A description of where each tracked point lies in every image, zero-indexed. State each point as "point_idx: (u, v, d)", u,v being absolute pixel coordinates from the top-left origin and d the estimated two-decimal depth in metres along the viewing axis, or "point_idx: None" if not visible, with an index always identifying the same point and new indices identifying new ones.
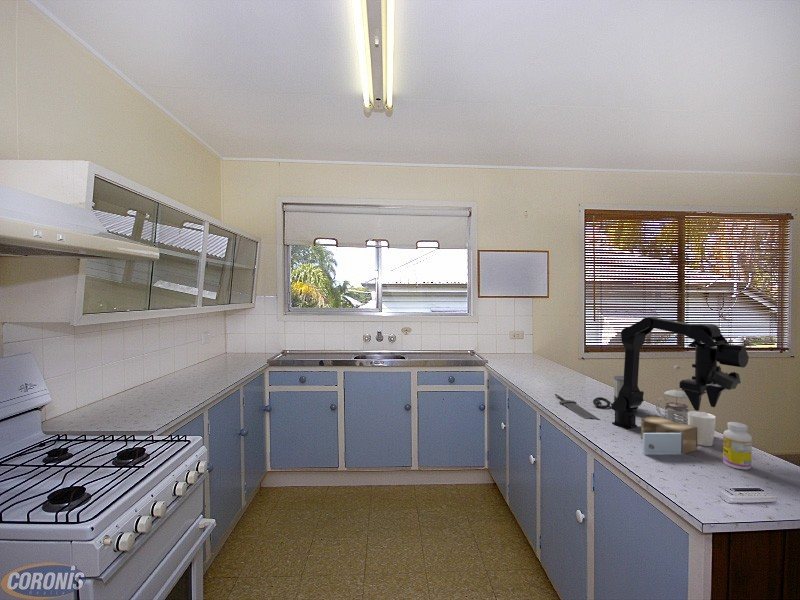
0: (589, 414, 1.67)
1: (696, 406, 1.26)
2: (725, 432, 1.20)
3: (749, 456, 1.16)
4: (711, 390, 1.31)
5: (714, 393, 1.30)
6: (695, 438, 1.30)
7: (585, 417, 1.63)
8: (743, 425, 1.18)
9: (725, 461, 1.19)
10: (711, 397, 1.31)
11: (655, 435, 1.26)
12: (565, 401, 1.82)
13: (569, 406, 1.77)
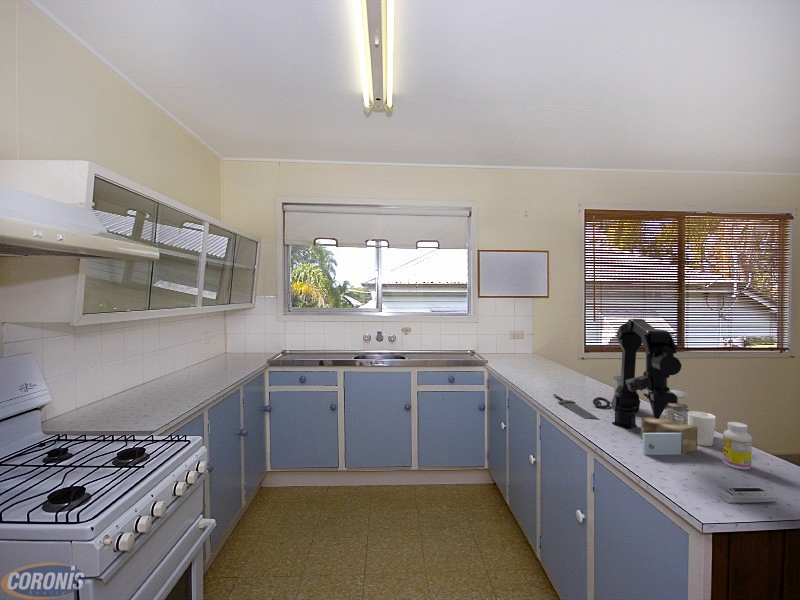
0: (589, 414, 1.67)
1: None
2: (725, 432, 1.20)
3: (749, 456, 1.16)
4: None
5: None
6: (695, 438, 1.30)
7: (585, 417, 1.63)
8: (743, 425, 1.18)
9: (725, 461, 1.19)
10: None
11: (655, 435, 1.26)
12: (564, 401, 1.83)
13: (568, 406, 1.77)
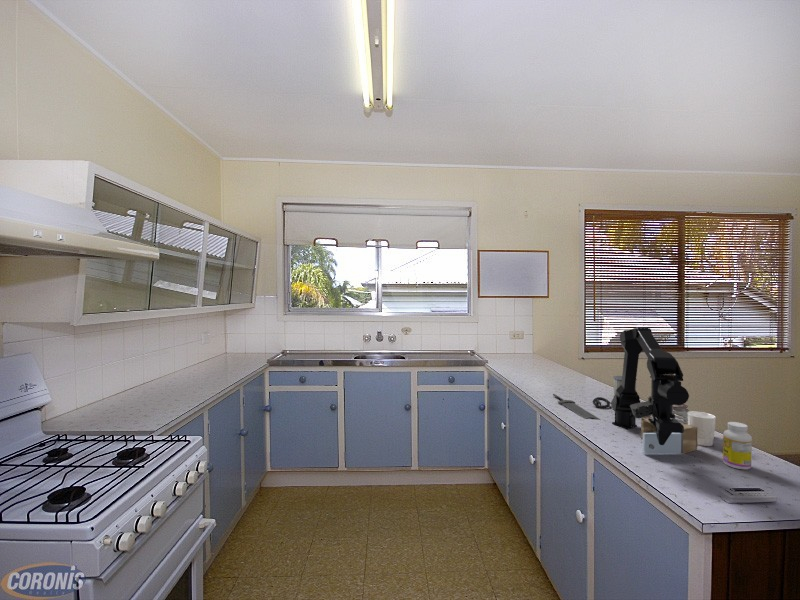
0: (589, 414, 1.67)
1: None
2: (725, 432, 1.20)
3: (749, 456, 1.16)
4: None
5: None
6: (695, 438, 1.30)
7: (585, 417, 1.63)
8: (743, 425, 1.18)
9: (725, 461, 1.19)
10: None
11: (655, 435, 1.26)
12: (564, 401, 1.83)
13: (568, 406, 1.77)
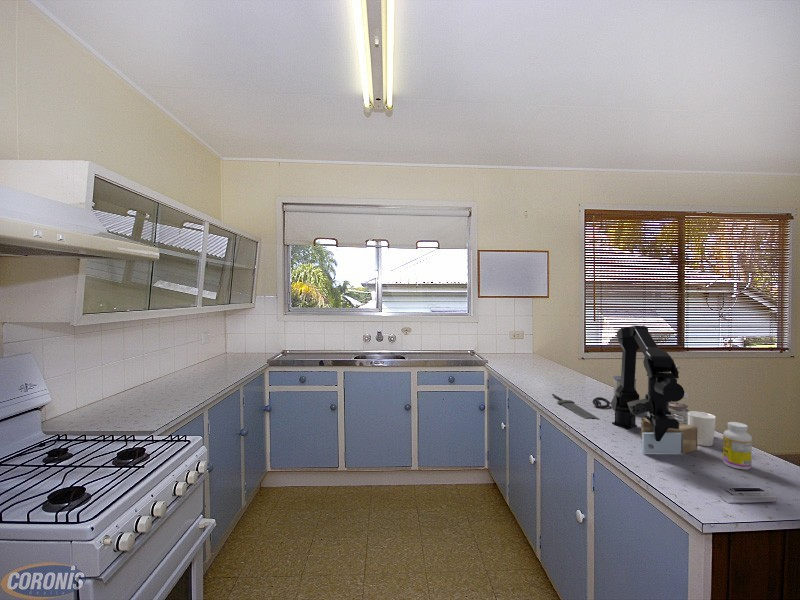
0: (589, 413, 1.67)
1: None
2: (725, 432, 1.20)
3: (749, 456, 1.16)
4: None
5: None
6: (695, 438, 1.30)
7: (585, 417, 1.63)
8: (743, 425, 1.18)
9: (725, 461, 1.19)
10: None
11: None
12: (563, 401, 1.83)
13: (568, 406, 1.77)
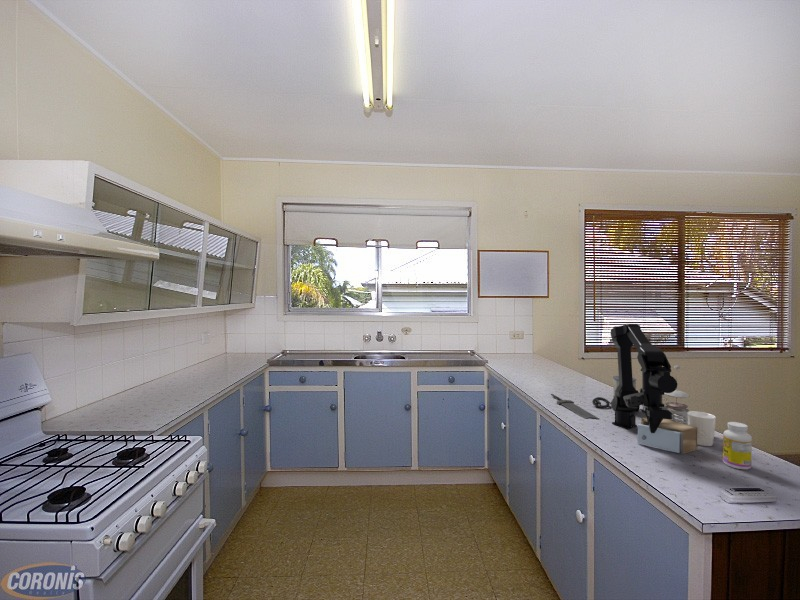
0: (589, 413, 1.67)
1: None
2: (725, 432, 1.20)
3: (749, 456, 1.16)
4: None
5: None
6: (695, 438, 1.30)
7: (585, 417, 1.64)
8: (743, 425, 1.18)
9: (725, 461, 1.19)
10: None
11: None
12: (563, 401, 1.83)
13: (567, 406, 1.77)
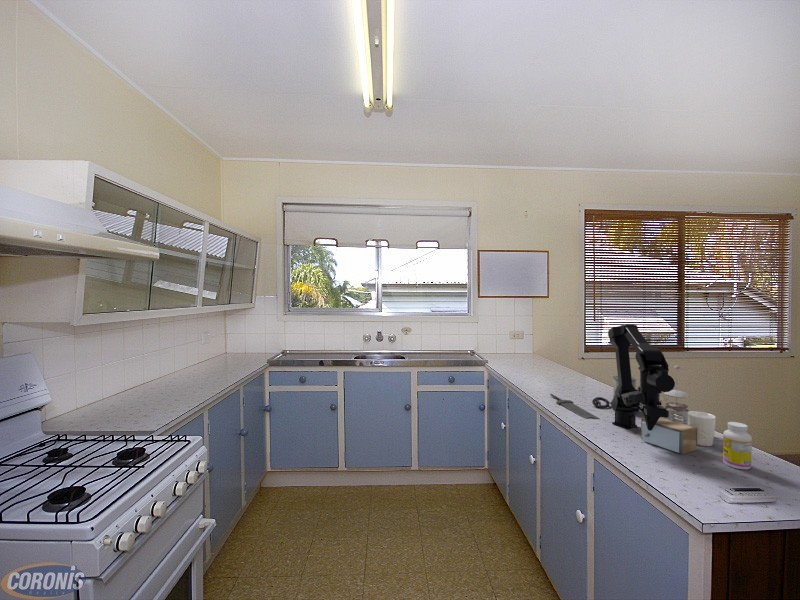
0: (588, 413, 1.67)
1: None
2: (725, 432, 1.20)
3: (749, 456, 1.16)
4: None
5: None
6: (695, 438, 1.30)
7: (585, 417, 1.64)
8: (743, 425, 1.18)
9: (725, 461, 1.19)
10: None
11: None
12: (562, 401, 1.83)
13: (567, 406, 1.78)
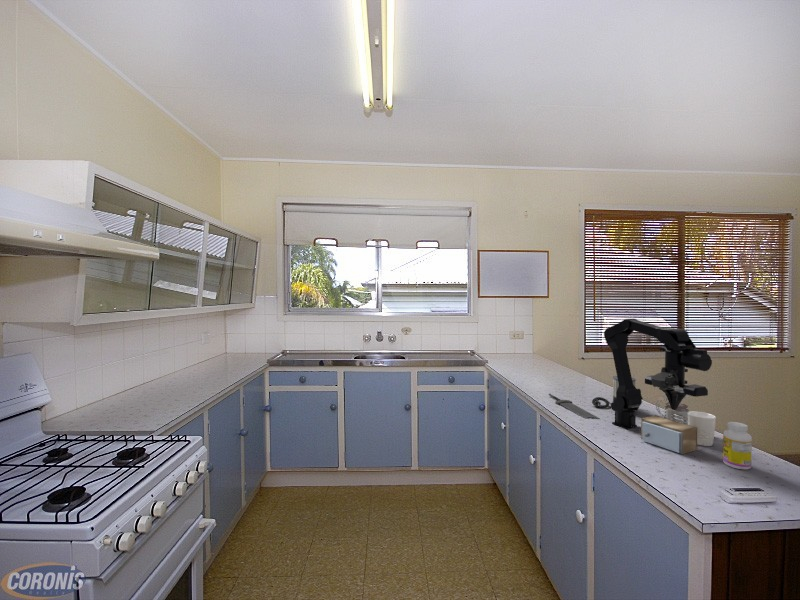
0: (588, 413, 1.68)
1: None
2: (725, 432, 1.20)
3: (749, 456, 1.16)
4: None
5: None
6: (695, 438, 1.30)
7: (585, 416, 1.64)
8: (743, 425, 1.18)
9: (725, 461, 1.19)
10: None
11: (652, 426, 1.35)
12: (561, 401, 1.83)
13: (566, 406, 1.78)
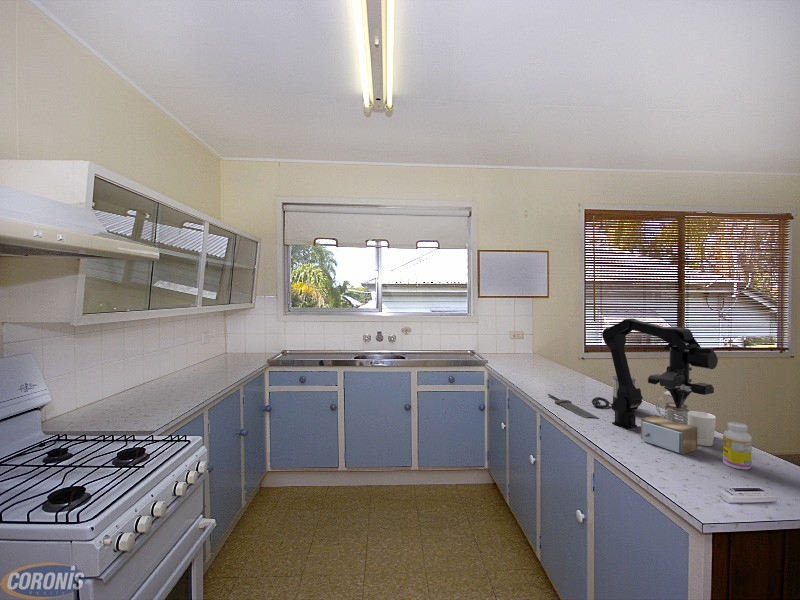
0: (588, 413, 1.68)
1: None
2: (725, 432, 1.20)
3: (749, 456, 1.16)
4: None
5: None
6: (695, 438, 1.30)
7: (585, 416, 1.64)
8: (743, 425, 1.18)
9: (725, 461, 1.19)
10: None
11: (652, 426, 1.35)
12: (560, 401, 1.83)
13: (566, 406, 1.78)
